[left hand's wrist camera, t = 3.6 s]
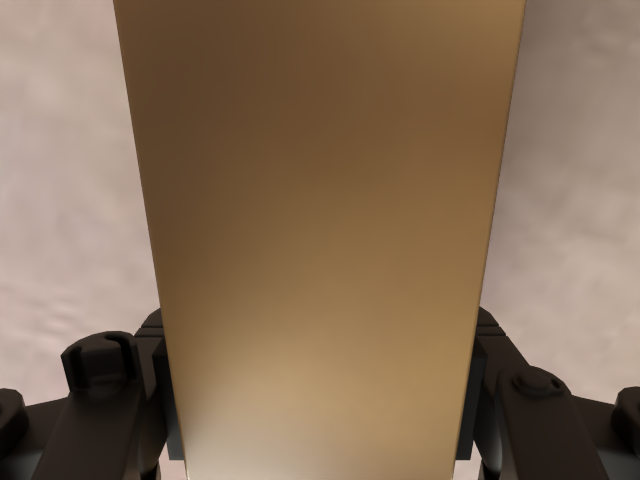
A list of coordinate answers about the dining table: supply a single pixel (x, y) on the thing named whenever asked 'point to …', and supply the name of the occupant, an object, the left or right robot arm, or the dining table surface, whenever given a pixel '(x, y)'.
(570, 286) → the dining table surface
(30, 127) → the dining table surface
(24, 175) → the dining table surface
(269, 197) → the beam
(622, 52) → the dining table surface
